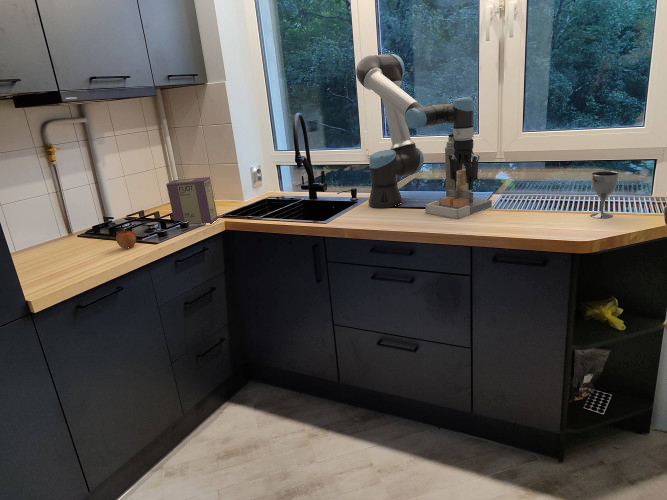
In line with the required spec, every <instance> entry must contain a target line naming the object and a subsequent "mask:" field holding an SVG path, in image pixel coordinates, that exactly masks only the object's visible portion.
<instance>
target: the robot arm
mask: <svg viewBox="0 0 667 500" xmlns="http://www.w3.org/2000/svg"><path fill="white" fill-rule="evenodd" d="M355 69H356V70H355V75H356V78H357V81H358V82H359V84H361V85H362V86H363V87H364V88H365V89H367V90H369V91H370V90H371V91H373V92H374V93H375V94H376V95H377V96H378V97H380V98H381V99H382V104H383V109H384V113H385V117H386V122H387V127H388V131H389V135H390V140H391V143H392V144H391V147H390V148H389V149H384V150H379V151H377V152H374V153H372V154H371V155H370V156H369V165H368V166H369V173H370V174H369V175H370V184H371V185H370V187H371V190H370V193H369V199H368V207H371V208H376V209H387V208H393V206H395V205H398V204H400V203H402V204H403V196H402V195H401V192H400V189H399V186H398V179H400V178H403V177H406V176H408V177H409V176H413V175H414V174H417V173H419V172H420V171H421V170H422V168H423V166H424V163H425V162H424V161H425V157H424V154H423V151H422V150H421V149H420V148H419V147H417V146H416V142H414V141H412V139H411V134H410V130H409V129H412V130H413V129H421V128H426V127H430V126H436V125H437V126H438V125H445V124H452V126H453V128H452V129H453V134H454V139H455V140H454V150H455V151H454V154H452V155H449V156H448V157H449V160H450V176H451V179H453V180H454V181H455V189H456V190H457V171H458V170H462V165H463V164H464V169H465V170H466V176H467V182H466V192H472V193H473V190H474V182H475V181H477V180H478V175H479V174H478V173H479V160H480V155H475V154H474V151H473V149H474V139H473V138H474V110H475V109H474V99H473V97H471V96H469V97H458V98H454V99H453V100H452V103H438V104H437V103H436V104H432V105H429V106H428V105H427V106H424V105H422V104H421V103H420V102H418V101H417V100H416V99H415V98H413V97H412V96H411V95H409V94H408V93H407V92H405V91H404V90H403V89H402V88H400V87H401V85H402V83H403V80H402V79H403V78H404V75H405V72H406V68H405V63H404V61H403V59H402V58H401V57H400V56H399V55H397V54H393V53H384V54H373V55H372V54H370V55H369V54H368V55H366V56H364V57H362V58H361V59H359V61H358V63H357V66H356V68H355ZM398 206H399V205H398ZM395 207H396V206H395Z"/></svg>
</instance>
